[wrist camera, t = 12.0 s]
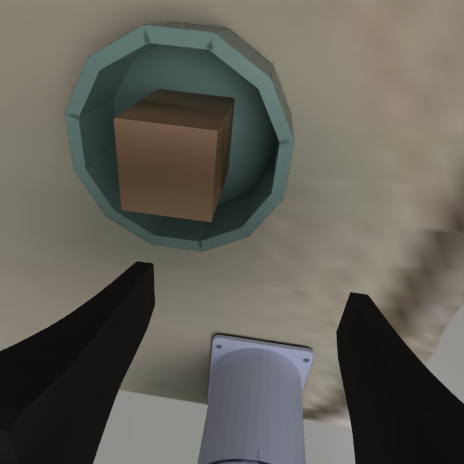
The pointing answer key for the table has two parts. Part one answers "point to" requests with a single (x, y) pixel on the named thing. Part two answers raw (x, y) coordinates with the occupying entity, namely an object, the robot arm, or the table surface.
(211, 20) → the table surface
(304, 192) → the table surface
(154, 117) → the walnut block
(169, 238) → the teal bowl
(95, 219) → the table surface
